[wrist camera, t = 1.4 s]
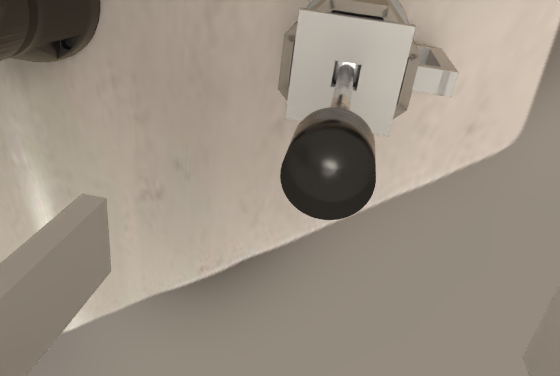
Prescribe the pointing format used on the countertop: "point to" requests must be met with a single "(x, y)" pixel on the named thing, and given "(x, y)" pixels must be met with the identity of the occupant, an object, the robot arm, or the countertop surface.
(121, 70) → the countertop surface
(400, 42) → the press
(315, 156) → the plunger
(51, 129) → the countertop surface
